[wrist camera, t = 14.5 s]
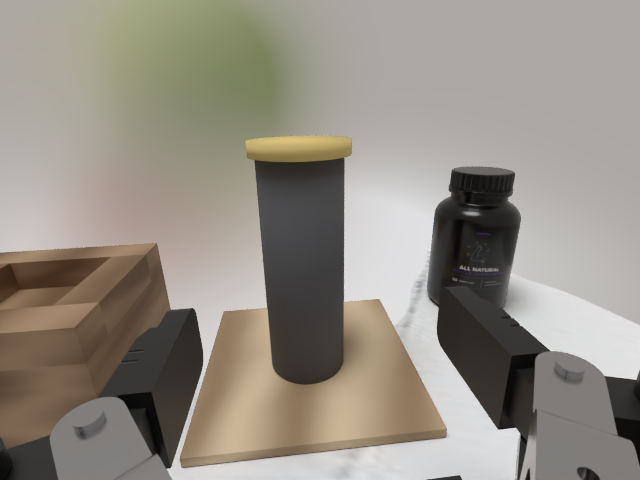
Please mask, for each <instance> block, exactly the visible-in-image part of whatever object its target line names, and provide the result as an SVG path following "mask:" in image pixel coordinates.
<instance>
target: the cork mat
mask: <svg viewBox="0 0 640 480" xmlns="http://www.w3.org/2000/svg"><path fill="white" fill-rule="evenodd" d="M446 432H447V428H446V426H445V424H444V422H443V420H442V418H441V417H440V415H439V413H438V411H437V409H436V407H435V405H434V403H433V401H432V399H431V397H430V395H429V394H428V392H427V390H426V388H425V386H424V384H423V382H422V380H421V378H420V376H419V374H418V372H417V371H416V369H415V367H414V365H413V363H412V361H411V359H410V357H409V355H408V353H407V351H406V349H405V348H404V346H403V344H402V342H401V340H400V338H399V336H398V334H397V332H396V330H395V328H394V326H393V325H392V323H391V321H390V319H389V317H388V315H387V313H386V311H385V309H384V307H383V305H382V303H381V302H380V300H379V299H375V300H363V301H350V302H344V359H343V365H342V367H341V369H340V370H339V372H338V373H337V374H336V375H334V376H333V377H332V378H330V379H328V380H326V381H323V382H320V383H316V384H309V385H303V384H295V383H292V382H289V381H286V380H284V379H283V378H281V377H280V376H279V375H278V374H277V373H276V372H275V370H274V368H273V365H272V356H271V345H270V333H269V321H268V310H267V308H262V309H249V310H237V311H224V313H223V316H222V319H221V323H220V326H219V329H218V333H217V336H216V339H215V343H214V346H213V350H212V353H211V356H210V359H209V363H208V366H207V369H206V373H205V376H204V379H203V383H202V387H201V389H200V393H199V396H198V399H197V403H196V406H195V409H194V413H193V416H192V419H191V423H190V426H189V430H188V433H187V436H186V440H185V443H184V446H183V450H182V453H181V456H180V462H181V467H190V466H199V465H207V464H216V463H225V462H233V461H242V460H251V459H260V458H268V457H277V456H286V455H294V454H303V453H312V452H320V451H329V450H338V449H346V448H355V447H364V446H372V445H381V444H390V443H399V442H407V441H416V440H425V439H433V438H442V437H446Z"/></svg>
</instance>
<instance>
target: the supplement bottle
mask: <svg viewBox="0 0 640 480" xmlns="http://www.w3.org/2000/svg"><path fill="white" fill-rule="evenodd" d="M514 177H515V173H514V172H513V171H511V170H506V169H501V168H493V167H459V168H454V169H453V170H452V173H451V181H450V185H449V191H450V192H452V193H451V197H448V198H446V199H445V200H443V201H442V202H440V204H439V205H438V206H437V208H436V210H435V216H434V225H433V235H432V244H431V254H430V263H429V273H428V284H427V291H428V294H429V296H430V297H431V299H432V300H433V301H434V302H435V303H436V304H438V305H439V300H440V292H441V290H442V289H443V288H446V287H458V286H467V287H469V288H470V289H471V290H472V291H473V292H474V293H475V294H476V295H477V296H478V297H480V298H481V299H485V300H487V301H489V302H491V303H493V304H495V305H497V306H499V307H500V308H502V306H503V305H504V302H505V299H506V294H507V289H508V284H509V279H510V274H511V268H512V264H513V258H514V253H515V248H516V243H517V238H518V233H519V228H520V221H521V216H520V213H519V211H518V209H517V208H516V207H515V206H514V205H513V204H512V203H510V202H509V201H508V197H509V196H511V195H512V193H513V183H514Z"/></svg>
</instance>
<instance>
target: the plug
mask: <svg viewBox="0 0 640 480" xmlns="http://www.w3.org/2000/svg"><path fill="white" fill-rule="evenodd" d="M246 152H247V158H249V159H252V160H255V170H256V182H257V194H258V205H259V216H260V229H261V240H262V252H263V263H264V274H265V285H266V297H267V310H268V321H269V333H270V345H271V356H272V365H273V368H274V370H275V372H276V373H277V374H278V375H279V376H280V377H281V378H283V379H284V380H286V381H289V382H292V383H295V384H303V385H309V384H316V383H320V382H323V381H326V380H328V379H330V378H332V377H333V376H334V375H336V374H337V373H338V372H339V370H340V369H341V367H342V365H343V359H344V157H348V156H350V155H351V154H352V139H351V138H348V137H340V136H284V137H269V138H258V139H252V140H248V141H246Z"/></svg>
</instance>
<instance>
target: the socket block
mask: <svg viewBox="0 0 640 480" xmlns="http://www.w3.org/2000/svg"><path fill="white" fill-rule="evenodd" d="M168 310H171V309H170V305H169V300H168V295H167V290H166V285H165V280H164V275H163V270H162V266H161V261H160V256H159V251H158V246H157V243H151V244H135V245H119V246H103V247H86V248H71V249H55V250H40V251H39V250H38V251H22V252H6V253H0V437H1V439H2V440H3V442H4V444H5V447H6V449H9V448H12V447H15V446H18V445H21V444H24V443H27V442H30V441H33V440H36V439H39V438H42V437H45V436H48V435H51V432H52V430H53V428H54V427H55V425H56V424H57V423H58V422H59V421H60V419H62V418H63V417H64V416H65V415H66V414H67V413H69V412H70V411H71V410H73V409H75V408H76V407H78V406H80V405H82V404H84V403H86V402H88V401H91V400H94V399H97V397H98V396H99V394H100V393H101V391H102V390H103V388H104V387H105V385H106V384H107V382H108V381H109V379H110V378H111V376H112V375H113V373H114V372H115V370H116V369H117V367H118V365H119V364H121V361H122V359H123V358H124V356H125V355H126V353H128V350H129V349H130V347H131V346H132V344H133V343H134V341H135V340H136V339H137V338H138V337H139V336H140V335H142V334H143V333H144V332H145V331H147V330H148V329H149V328H155V327H158V326H159V324H160V322H161V320H162V319H163V317H164V315H165V314H166V312H167V311H168Z"/></svg>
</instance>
